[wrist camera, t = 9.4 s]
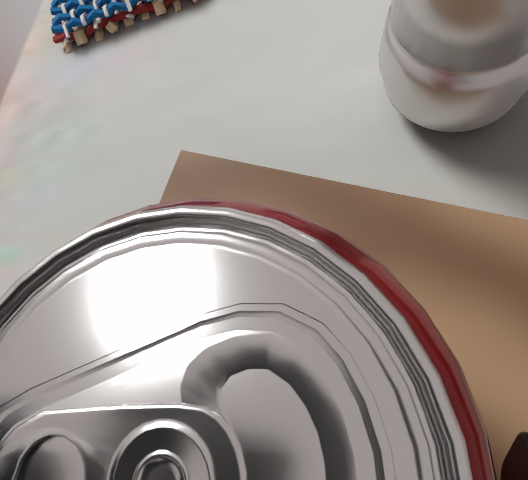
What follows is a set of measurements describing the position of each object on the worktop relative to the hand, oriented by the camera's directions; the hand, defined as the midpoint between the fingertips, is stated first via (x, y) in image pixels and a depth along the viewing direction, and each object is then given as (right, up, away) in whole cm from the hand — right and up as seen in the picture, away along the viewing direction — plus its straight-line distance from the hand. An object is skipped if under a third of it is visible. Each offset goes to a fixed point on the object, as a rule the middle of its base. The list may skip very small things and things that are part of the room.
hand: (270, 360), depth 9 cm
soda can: (+1, -4, +7) cm, 8 cm away
